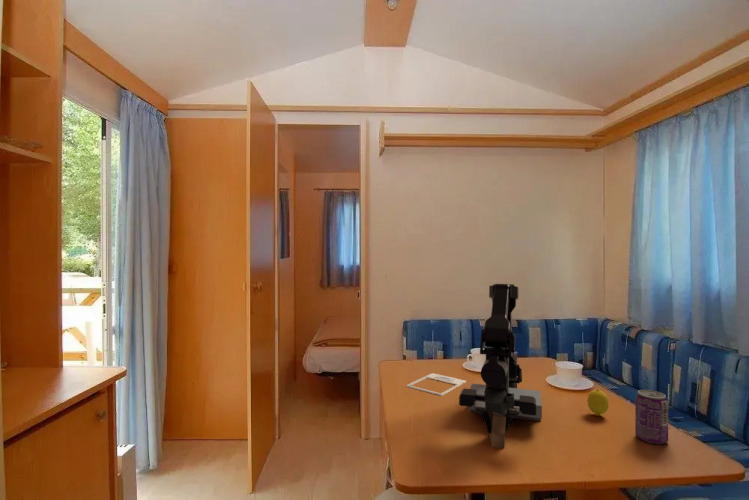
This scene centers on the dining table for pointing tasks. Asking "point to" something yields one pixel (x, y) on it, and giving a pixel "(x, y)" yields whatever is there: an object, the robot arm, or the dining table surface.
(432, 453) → the dining table surface
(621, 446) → the dining table surface
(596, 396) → the lemon
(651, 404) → the beverage can
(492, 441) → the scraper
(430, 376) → the photo frame
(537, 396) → the grey rectangular block
